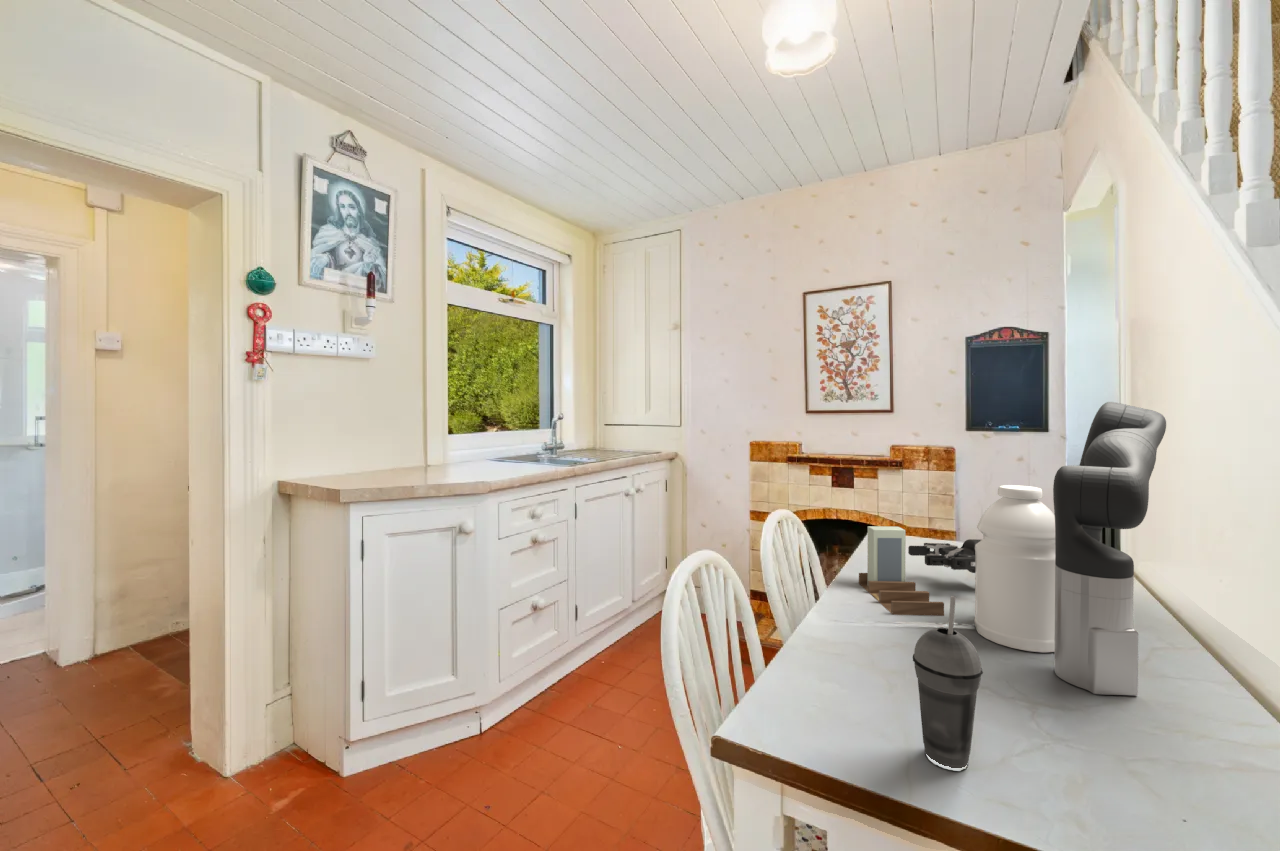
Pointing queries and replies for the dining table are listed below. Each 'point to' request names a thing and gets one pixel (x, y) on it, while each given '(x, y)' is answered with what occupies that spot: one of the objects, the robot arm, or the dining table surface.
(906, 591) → the stand
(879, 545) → the beige box
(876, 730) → the dining table surface
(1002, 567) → the bottle
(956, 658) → the beverage cup
